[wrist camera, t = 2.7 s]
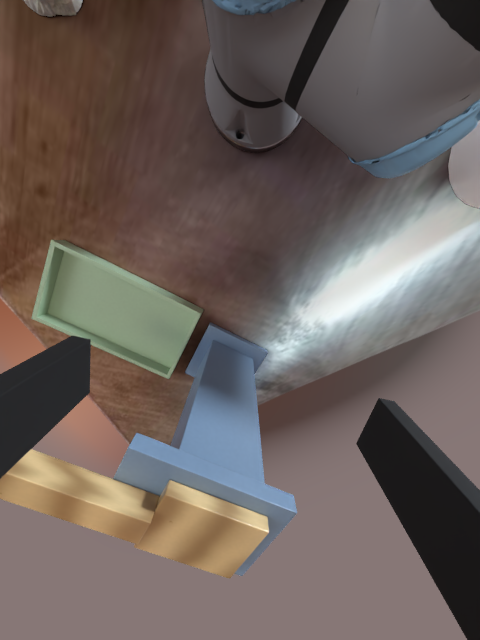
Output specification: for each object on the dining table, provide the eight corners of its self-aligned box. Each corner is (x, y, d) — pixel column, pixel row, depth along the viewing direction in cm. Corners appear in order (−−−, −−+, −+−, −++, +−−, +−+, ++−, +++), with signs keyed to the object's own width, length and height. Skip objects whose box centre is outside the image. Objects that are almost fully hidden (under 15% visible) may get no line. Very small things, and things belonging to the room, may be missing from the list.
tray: (44, 313, 46) (31, 318, 43) (64, 240, 41) (51, 239, 38) (173, 371, 49) (169, 379, 46) (204, 309, 45) (201, 313, 42)
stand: (177, 365, 49) (87, 532, 20) (201, 317, 46) (132, 438, 17) (240, 393, 51) (237, 581, 22) (267, 349, 48) (303, 506, 19)
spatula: (-14, 478, 19) (-43, 505, 17) (2, 415, 17) (-29, 437, 15) (230, 561, 22) (229, 592, 20) (268, 516, 20) (270, 545, 18)
